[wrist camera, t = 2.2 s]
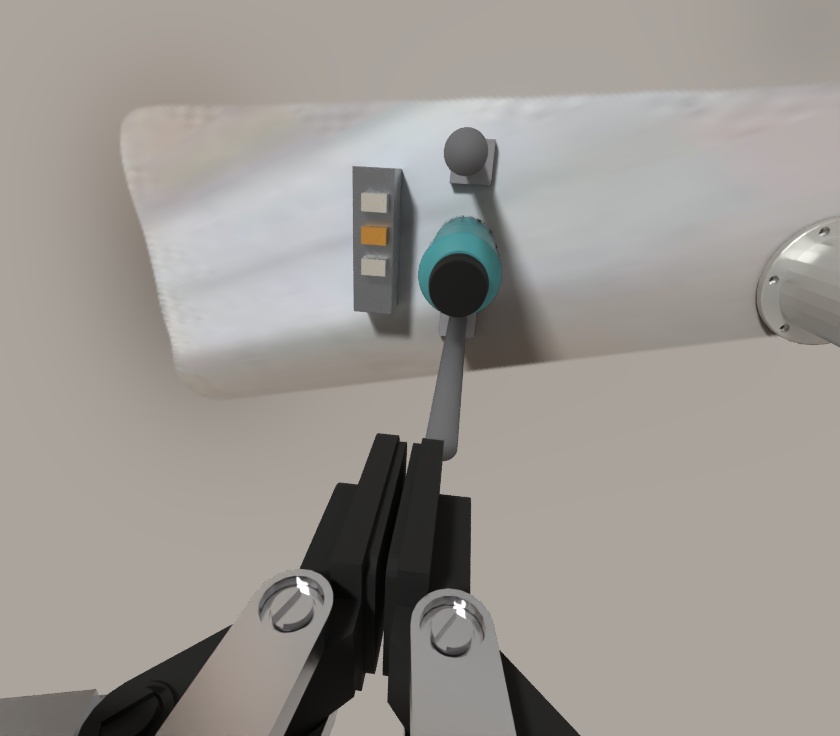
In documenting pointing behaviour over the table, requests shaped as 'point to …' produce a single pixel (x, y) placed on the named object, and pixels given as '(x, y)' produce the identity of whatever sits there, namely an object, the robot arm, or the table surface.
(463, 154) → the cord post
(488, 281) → the beverage bottle
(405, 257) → the table surface
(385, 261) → the pdu strip
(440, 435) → the cord post
